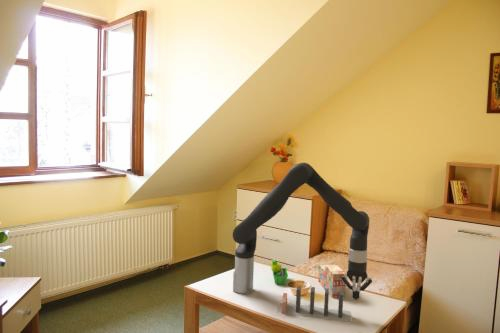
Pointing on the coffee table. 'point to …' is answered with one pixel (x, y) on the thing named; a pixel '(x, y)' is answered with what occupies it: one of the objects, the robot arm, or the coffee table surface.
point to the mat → (316, 312)
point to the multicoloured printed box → (332, 279)
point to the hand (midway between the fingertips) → (355, 299)
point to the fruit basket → (279, 272)
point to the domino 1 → (284, 303)
